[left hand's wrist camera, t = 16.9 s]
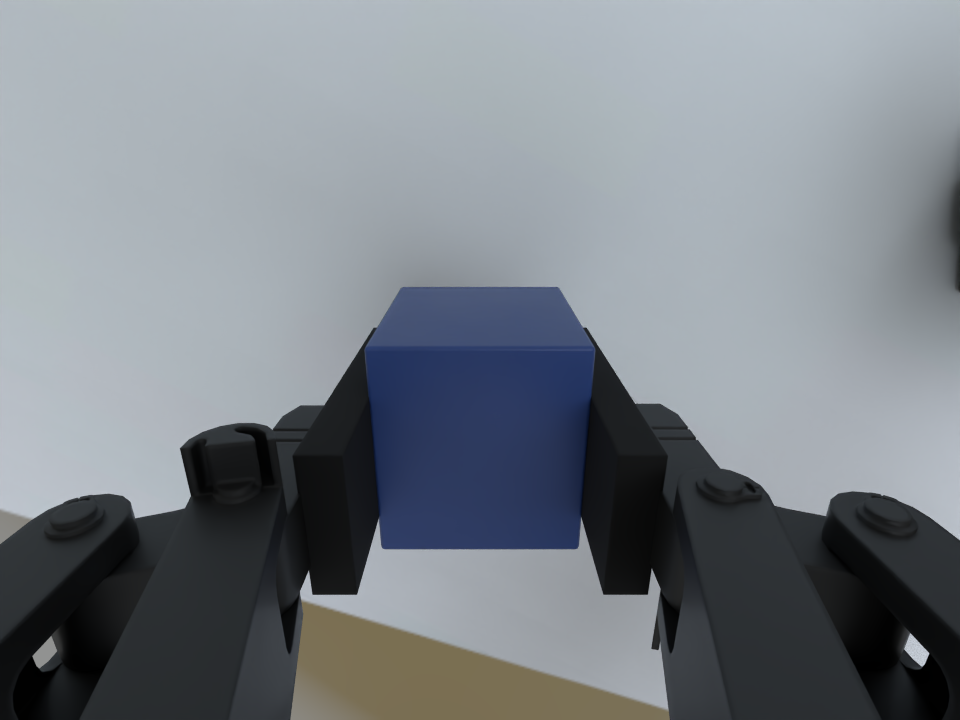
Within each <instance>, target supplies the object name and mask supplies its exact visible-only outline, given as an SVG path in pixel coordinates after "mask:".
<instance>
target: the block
mask: <svg viewBox="0 0 960 720" xmlns="http://www.w3.org/2000/svg"><path fill="white" fill-rule="evenodd" d="M594 359H595V348H594V346H593V344H592V342H591V341H590V339H589V337H588V336H587V334H586V332H585V331H584V329H583V327H582V326H581V324H580V322H579V321H578V319H577V317H576V316H575V314H574V312H573V311H572V309H571V307H570V306H569V304H568V302H567V301H566V299H565V297H564V296H563V294H562V292H561V291H560V289H559V288H558V287H403V288H401V289H400V291H399V293H398V294H397V296H396V298H395V299H394V301H393V302H392V304H391V306H390V307H389V309H388V311H387V312H386V314H385V316H384V317H383V319H382V321H381V322H380V324H379V326H378V327H377V329H376V331H375V332H374V334H373V336H372V337H371V339H370V340H369V342H368V344H367V345H366V347H365V361H366V373H367V384H368V396H369V402H370V414H371V426H372V438H373V450H374V461H375V473H376V485H377V497H378V508H379V524H380V536H381V546H382V548H383V549H577V548H578V546H579V538H580V526H581V511H582V500H583V488H584V476H585V464H586V452H587V440H588V428H589V416H590V404H591V395H592V383H593V371H594Z"/></svg>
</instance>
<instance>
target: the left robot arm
mask: <svg viewBox="0 0 960 720" xmlns="http://www.w3.org/2000/svg"><path fill="white" fill-rule="evenodd" d="M376 329H377V328H373V330H372V331H371V333H370V335H369V336H368V338H367V339H366V341H365V342H364V344H363V346H362V347H361V349H360V350H359V352H358V353H357V355H356V357H355V358H354V360H353V361H352V363H351V364H350V366H349V368H348V369H347V371H346V372H345V374H344V375H343V377H342V379H341V380H340V382H339V383H338V385H337V386H336V388H335V390H334V391H333V393H332V394H331V396H330V397H329V399H328V401H327V402H326V404H325V405H324V406H299V407H297V408H296V409H294V410H292V411H291V412H289V413H287V414H286V415H284V416H283V417H282V418H281V419H280V421H279V422H278V423H277V424H276V426H275V427H274V428H273V430H272V429H271V428H269V427H268V426H265V425H260V424H256V423H237V424H231V425H225V426H220V427H217V428H214V429H211V430H208V431H205V432H202V433H200V434H198V435H197V436H195V437H193V438H191V439H189V440H188V441H187V442H186V443H185V444H184V445H183V446H182V447H181V448H180V451H181V455H182V459H183V463H184V468H185V472H186V476H187V481H188V485H189V489H190V494H191V497H190V499H189V501H188V503H187V505H186V507H185V509H181V510H176V511H172V512H167V513H162V514H156V515H151V516H146V517H140V518H135V516H134V513H133V509H132V506H131V502H130V501H128V500H127V499H126V498H125V497H123V496H119V495H113V494H101V495H88V496H83V497H80V498H79V499H78V498H75V499H71V500H68V501H66V502H64V503H63V504H61V505H58V506H56V507H54V508H51V509H49V510H47V511H46V512H44V513H42V514H41V515H39V516H38V517H36V518H34V519H33V520H31V521H30V522H28V523H27V524H26V525H25V526H23V527H22V528H21V529H20V530H18V531H17V532H16V533H14V534H13V535H12V536H10V537H9V538H8V539H7V540H5V541H4V542H3V543H1V544H0V720H290V717H291V709H292V701H293V693H294V684H295V676H296V668H297V660H298V652H299V644H300V635H301V627H302V619H303V610H302V603H301V597H300V590H301V587H302V585H303V583H304V580H305V578H306V575H307V573H308V571H309V573H310V580H311V587H312V594H313V595H357V593H358V589H359V586H360V582H361V579H362V575H363V572H364V568H365V565H366V561H367V557H368V554H369V550H370V547H371V543H372V540H373V536H374V533H375V529H376V526H377V522H378V519H379V508H378V497H377V485H376V473H375V461H374V450H373V438H372V426H371V414H370V402H369V396H368V384H367V373H366V361H365V347H366V345H367V344H368V342H369V340H370V339H371V337H372V336H373V334H374V332H375V331H376ZM583 329H584V331H585V332H586V334H587V336H588V337H589V339H590V341H591V342H592V344H593V346H594V348H595V359H594V371H593V383H592V395H591V404H590V416H589V428H588V440H587V452H586V464H585V476H584V488H583V500H582V511H581V517H582V521H583V524H584V528H585V531H586V535H587V538H588V542H589V545H590V549H591V553H592V556H593V560H594V563H595V567H596V570H597V574H598V577H599V581H600V584H601V588H602V591H603V595H648V590H649V583H650V576H651V569H653V572H654V574H655V577H656V579H657V581H658V584H659V586H660V588H661V591H660V597H659V603H658V610H657V616H656V622H655V629H654V635H653V642H652V649H655V650H659V645H660V643H661V651H662V659H663V667H664V675H665V683H666V691H667V699H668V708H669V716H670V720H960V540H958V539H957V538H956V537H955V536H953V535H952V534H951V533H949V532H948V531H947V530H945V529H944V528H943V527H942V526H940V525H939V524H938V523H936V522H935V521H934V520H932V519H931V518H930V517H928V516H926V515H925V514H923V513H921V512H920V511H918V510H917V509H915V508H913V507H911V506H909V505H906V504H904V503H902V502H899V501H898V500H896V499H894V498H891V497H888V496H885V495H883V496H881V494H876V493H864V492H853V491H852V492H846V493H840V494H837V495H836V496H835V497H833V498H832V499H831V500H830V504H829V508H828V511H827V515H826V516H822V515H817V514H811V513H806V512H801V511H795V510H790V509H785V508H781V507H777V506H774V504H773V502H772V500H771V498H770V496H769V495H768V494H767V493H766V491H765V490H764V489H763V488H762V487H761V486H760V485H759V484H757V483H756V482H754V481H753V480H751V479H750V478H748V477H746V476H743V475H741V474H738V473H736V472H733V471H730V470H725V469H720V468H719V467H718V465H717V464H716V463H715V461H714V460H713V459H712V458H711V456H710V455H709V454H708V453H707V451H706V450H705V449H704V447H703V446H702V445H701V444H700V442H699V441H698V440H696V437H695V436H694V435H693V433H692V432H691V431H690V430H688V427H687V426H686V424H685V423H684V422H683V420H682V419H681V418H680V417H679V415H678V414H676V413H674V412H673V411H671V410H669V409H668V408H666V407H664V406H663V405H661V404H635V403H634V401H633V400H632V398H631V397H630V395H629V394H628V392H627V390H626V389H625V387H624V386H623V384H622V383H621V381H620V379H619V378H618V376H617V375H616V373H615V372H614V370H613V368H612V367H611V365H610V364H609V362H608V361H607V359H606V357H605V356H604V354H603V353H602V351H601V350H600V348H599V346H598V345H597V343H596V342H595V340H594V339H593V337H592V336H591V334H590V332H589V331H588V329H587V328H583ZM910 633H911V634H912V635H913V636H914V637H915V638H916V639H917V640H918V642H919V643H920V644H921V645H922V646H923V647H924V648H925V649H926V650H927V651H928V652H929V656H928V658H927V661H926V663H925V665H924V666H923V667H921V666H920V665H919V664H918V663H917V662H915V661H914V660H913V659H912V658H911V657H910V655H909V654H908V653H907V652H906V651H905V650H904V648H905V645H906V642H907V640H908V637H909V635H910ZM50 636H52V638H53V641H54V644H55V646H56V649H57V652H56V653H55V655H54V656H53V657H52V658H51V659H50V660H49V661H48V662H47V663H46V664H45V665H43V666H42V667H41V668H40V669H39V668H38V667H37V666H36V664H35V662H34V659H33V657H32V656H33V655H34V653H35V652H36V651H37V650H38V649H39V648H40V647H41V646H42V645H43V644H44V643H45V642H46V641H47V640H48V639H49V638H50Z"/></svg>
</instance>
